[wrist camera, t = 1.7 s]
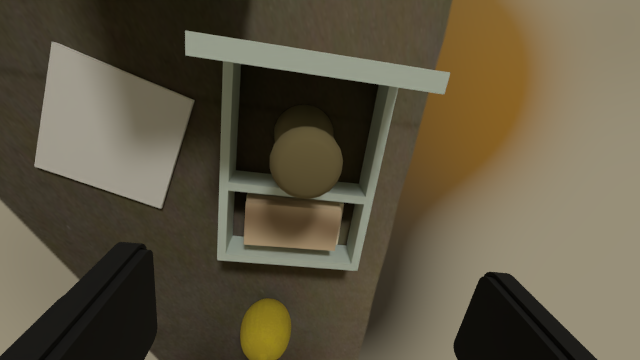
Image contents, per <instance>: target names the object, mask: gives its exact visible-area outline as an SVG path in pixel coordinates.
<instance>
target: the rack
mask: <svg viewBox="0 0 640 360" xmlns="http://www.w3.org/2000/svg"><path fill="white" fill-rule="evenodd" d="M185 55H187V56H193V57H200V58H206V59H213V60H220V61H223V77H222V112H221V146H220V181H219V215H218V249H217V260H222V261H235V262H248V263H261V264H274V265H287V266H300V267H313V268H326V269H339V270H352V271H357V270H358V265H359V261H360V256H361V252H362V248H363V243H364V239H365V234H366V230H367V225H368V221H369V216H370V212H371V207H372V203H373V198H374V194H375V189H376V185H377V180H378V176H379V172H380V167H381V163H382V158H383V154H384V149H385V145H386V140H387V136H388V131H389V127H390V122H391V118H392V113H393V109H394V105H395V100H396V96H397V91H398V87H399V88H405V89H412V90H419V91H425V92H432V93H439V94H444V93H445V90H446V86H447V83H448V79H449V75H450V73H448V72H442V71H436V70H430V69H423V68H417V67H411V66H405V65H398V64H392V63H386V62H379V61H373V60H367V59H361V58H354V57H348V56H342V55H336V54H329V53H323V52H317V51H311V50H304V49H298V48H292V47H286V46H279V45H273V44H267V43H261V42H254V41H248V40H242V39H236V38H229V37H223V36H217V35H211V34H204V33H198V32H192V31H185ZM241 64H246V65H253V66H259V67H266V68H273V69H279V70H286V71H293V72H299V73H306V74H313V75H319V76H326V77H332V78H339V79H346V80H352V81H359V82H366V83H372V84H379V86H378V91H377V96H376V101H375V106H374V111H373V116H372V121H371V126H370V131H369V136H368V141H367V146H366V150H365V155H364V160H363V165H362V170H361V175H360V180H359V184H356V183H347V182H338V181H337V183H336V184H335V186H334V187H333V188H332V189H331V190H330V191H329V192H327V193H325V194H324V195H322V196H320V197H316V198H312V199H316V200H326V201H335V202H345V203H355V205H354V210H353V215H352V220H351V225H350V230H349V235H348V240H347V245H346V246H345V245H336V246H335V251H328V250H314V249H300V248H286V247H272V246H258V245H245V244H244V237H241V236H233V218H234V198H235V191H238V192H248V193H258V194H267V195H277V196H287V197H293V196H290V195H288V194H287V193H285V192H284V191H283V190H281V189H280V188H279V186H278V185H277V184H276V182H275V181H274V179H273V177H272V174H266V173H257V172H248V171H239V170H236V156H237V136H238V115H239V95H240V74H241Z"/></svg>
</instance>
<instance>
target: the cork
mask: <svg viewBox="0 0 640 360" xmlns="http://www.w3.org/2000/svg"><path fill="white" fill-rule="evenodd" d="M274 140H275V144H274V146H273V149H272V152H271V154H270V166H269V167H270V171H271V174H272V177H273V179H274V181H275V182H276V184H277V185H278V186H279V188H280V189H281V190H283V191H284V192H285V193H287V194H288V195H290V196H293V197H296V198H299V199H312V198H316V197H320V196H322V195H324V194H325V193H327V192H329V191H330V190H331V189H332V188H333V187H334V186H335V184H336V183H337V181H338V179H339V177H340V175H341V172H342V165H343V158H342V154H341V149H340V148H339V146H338V144H337V143H336V141H335V139H334V130H333V126H332V123H331V121H330V119H329V118H328V116H327V115H326V114H325V113H324V112H323V111H322V110H320V109H319V108H316V107H314V106H312V105H302V104H301V105H297V106H293V107H291V108H289V109H287V110H286V111H284V112H283V113H282V114H281V116H280V117H279V118H278V119H277V122H276V125H275V127H274Z"/></svg>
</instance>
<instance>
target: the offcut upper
mask: <svg viewBox="0 0 640 360" xmlns="http://www.w3.org/2000/svg"><path fill="white" fill-rule="evenodd" d="M340 217H341V207H340V204H339V202H330V201H319V200H308V199H297V198H286V197H275V196H264V195H253V194H249V195H248V198H247V200H246V206H245V227H244V244H245V245H258V246H272V247H286V248H300V249H314V250H328V251H335V246H336V241H337V235H338V229H339V223H340Z"/></svg>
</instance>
